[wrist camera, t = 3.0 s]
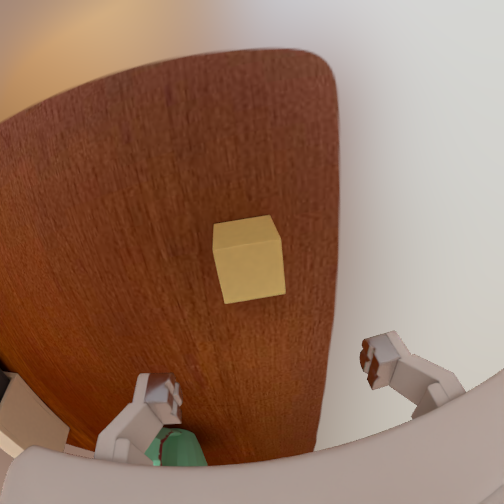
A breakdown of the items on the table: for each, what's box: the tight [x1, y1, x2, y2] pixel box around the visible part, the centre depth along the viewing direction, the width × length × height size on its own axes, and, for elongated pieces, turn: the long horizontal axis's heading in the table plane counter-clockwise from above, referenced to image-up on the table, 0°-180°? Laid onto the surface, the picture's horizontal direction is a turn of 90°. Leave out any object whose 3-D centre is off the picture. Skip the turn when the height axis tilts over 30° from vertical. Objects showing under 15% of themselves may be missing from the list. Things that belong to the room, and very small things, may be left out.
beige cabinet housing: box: [0, 371, 70, 458], centre depth 25 cm, size 15×12×10 cm
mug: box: [144, 428, 207, 466], centre depth 28 cm, size 15×10×10 cm
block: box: [212, 215, 286, 304], centre depth 19 cm, size 4×4×4 cm
